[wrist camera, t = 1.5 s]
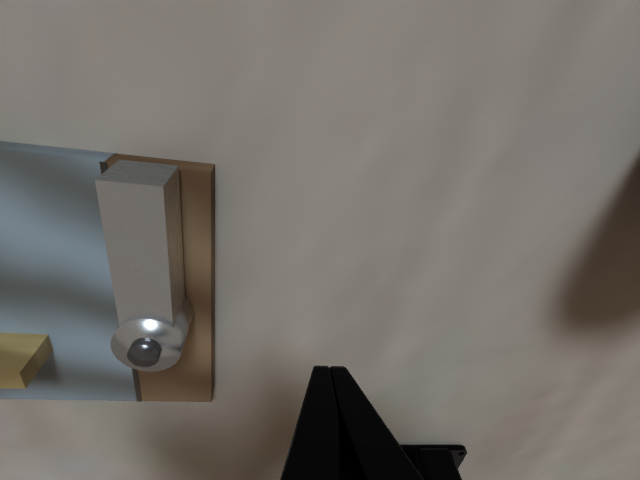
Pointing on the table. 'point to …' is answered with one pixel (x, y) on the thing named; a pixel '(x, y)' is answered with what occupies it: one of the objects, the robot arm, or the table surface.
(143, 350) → the latch bar
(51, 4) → the table surface
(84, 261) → the door panel
